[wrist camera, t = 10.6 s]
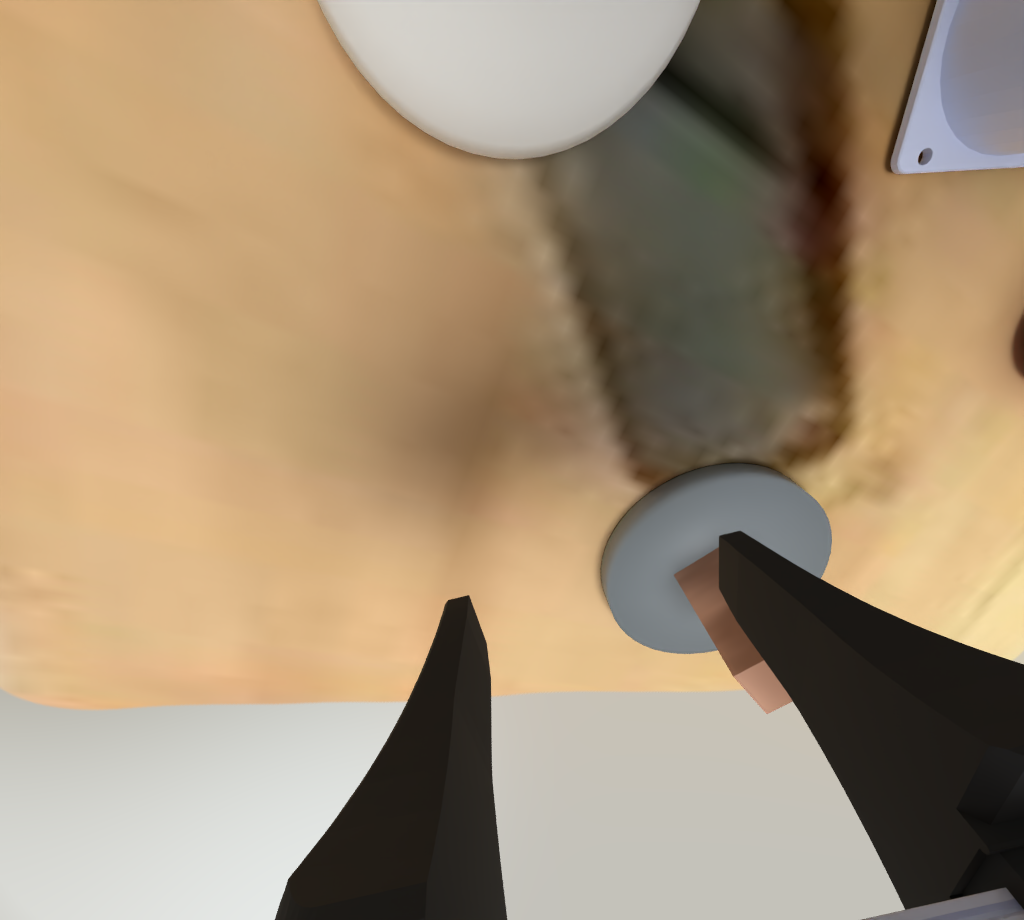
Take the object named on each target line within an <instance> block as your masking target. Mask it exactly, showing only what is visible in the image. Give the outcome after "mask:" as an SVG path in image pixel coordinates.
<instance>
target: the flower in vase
mask: <svg viewBox="0 0 1024 920" xmlns="http://www.w3.org/2000/svg"><path fill="white" fill-rule="evenodd" d="M699 2H700V0H318V3H319V5H320V7H321V10H322V12H323V14H324V16H325V17H326V19H327V21H328V23H329V25H330V26H331V28H332V30H333V32H334V34H335V35H336V37H337V39H338V41H339V43H340V44H341V46H342V47H343V49H344V50H345V52H346V53H347V54H348V56H349V57H350V59H351V60H352V62H353V63H354V65H355V66H356V67H357V69H358V70H359V72H360V73H361V74H362V75H363V76H364V78H365V79H366V80H367V81H368V82H369V83H370V85H371V86H372V87H373V88H374V89H375V90H376V92H377V93H378V94H379V95H380V96H381V97H382V98H383V99H384V100H385V101H386V102H387V103H388V104H390V105H391V106H392V107H393V108H394V109H395V110H396V111H397V112H398V113H399V114H400V115H401V116H403V117H404V118H405V119H407V120H408V121H410V122H411V123H412V124H414V125H415V126H417V127H418V128H419V129H421V130H422V131H424V132H425V133H427V134H429V135H431V136H432V137H434V138H436V139H438V140H440V141H442V142H444V143H446V144H447V145H450V146H453V147H455V148H458V149H461V150H464V151H466V152H469V153H472V154H477V155H482V156H487V157H492V158H500V159H526V158H535V157H543V156H547V155H550V154H554V153H558V152H561V151H565V150H567V149H570V148H572V147H574V146H576V145H579V144H581V143H583V142H586V141H588V140H589V139H591V138H593V137H594V136H596V135H597V134H599V133H600V132H602V131H604V130H605V129H607V128H608V127H610V126H611V125H612V124H613V123H615V122H616V121H617V120H618V119H619V118H621V117H622V116H623V115H624V114H626V113H627V112H628V111H629V110H630V109H631V108H632V107H633V106H634V105H635V104H636V103H637V102H638V101H639V100H640V99H641V98H642V96H643V95H644V94H645V93H646V92H647V91H648V90H649V89H650V88H651V86H652V85H653V84H654V82H655V81H656V80H657V78H658V77H659V76H660V74H661V73H662V72H663V70H664V69H665V68H666V66H667V65H668V63H669V61H670V60H671V58H672V56H673V55H674V53H675V51H676V50H677V48H678V46H679V45H680V43H681V41H682V39H683V38H684V36H685V33H686V31H687V29H688V27H689V25H690V23H691V21H692V18H693V16H694V14H695V12H696V10H697V8H698V5H699Z"/></svg>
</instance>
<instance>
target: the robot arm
mask: <svg viewBox="0 0 1024 920" xmlns="http://www.w3.org/2000/svg"><path fill="white" fill-rule="evenodd" d="M921 152H923V158H922V159H921V161H920V163H918V157H919V155H920V153H921ZM1019 167H1024V0H937V2H936V6H935V9H934V13H933V16H932V20H931V23H930V27H929V30H928V33H927V37H926V40H925V44H924V47H923V51H922V54H921V58H920V61H919V65H918V68H917V72H916V75H915V79H914V82H913V85H912V89H911V92H910V96H909V99H908V103H907V106H906V110H905V113H904V117H903V120H902V124H901V127H900V131H899V134H898V137H897V141H896V144H895V148H894V151H893V155H892V158H891V169H892V171H893V172H894V173H895V174H914V173H932V172H949V171H967V170H984V169H1001V168H1019ZM719 590H720V592H721V593H722V595H723V597H724V599H725V601H726V603H727V605H728V607H729V609H730V610H731V612H732V614H733V616H734V617H735V619H736V621H737V623H738V624H739V625H740V627H741V628H742V630H743V631H744V633H745V634H746V635H747V637H748V638H749V640H750V641H751V643H752V644H753V645H754V647H755V648H756V650H757V651H758V652H759V654H760V655H761V657H762V658H763V659H764V661H765V662H766V664H767V665H768V666H769V668H770V669H771V671H772V672H773V673H774V675H775V676H776V678H777V679H778V681H779V682H780V683H781V685H782V686H783V688H784V689H785V690H786V692H787V693H788V695H789V696H790V698H791V699H792V701H793V702H794V704H795V705H796V707H797V708H798V710H799V711H800V713H801V715H802V716H803V718H804V720H805V722H806V723H807V725H808V727H809V728H810V730H811V732H812V734H813V735H814V737H815V739H816V740H817V742H818V744H819V745H820V747H821V749H822V751H823V752H824V754H825V756H826V758H827V760H828V762H829V763H830V765H831V767H832V768H833V770H834V772H835V774H836V776H837V777H838V779H839V781H840V783H841V785H842V787H843V788H844V790H845V792H846V794H847V796H848V797H849V800H850V801H851V803H852V805H853V807H854V809H855V811H856V813H857V815H858V817H859V819H860V820H861V822H862V824H863V826H864V828H865V830H866V832H867V834H868V835H869V837H870V839H871V841H872V843H873V845H874V847H875V849H876V851H877V853H878V855H879V857H880V859H881V861H882V863H883V865H884V867H885V869H886V871H887V873H888V875H889V877H890V879H891V881H892V883H893V885H894V887H895V889H896V891H897V893H898V895H899V897H900V900H901V902H902V904H903V906H904V908H905V910H903V911H898V912H894V913H890V914H885V915H880V916H876V917H871V918H867V919H862V920H1024V665H1023V664H1020V663H1017V662H1014V661H1011V660H1008V659H1005V658H1002V657H999V656H996V655H993V654H990V653H987V652H984V651H982V650H979V649H976V648H973V647H970V646H967V645H965V644H962V643H959V642H957V641H954V640H952V639H949V638H946V637H944V636H941V635H939V634H936V633H934V632H931V631H928V630H926V629H924V628H921V627H919V626H916V625H914V624H912V623H909V622H907V621H905V620H902V619H900V618H898V617H896V616H894V615H891V614H889V613H887V612H885V611H882V610H880V609H878V608H876V607H874V606H872V605H870V604H868V603H865V602H863V601H861V600H859V599H857V598H856V597H854V596H852V595H850V594H848V593H846V592H844V591H842V590H840V589H838V588H836V587H834V586H833V585H831V584H829V583H827V582H825V581H823V580H822V579H820V578H818V577H816V576H815V575H813V574H811V573H809V572H808V571H806V570H804V569H802V568H801V567H799V566H797V565H796V564H794V563H792V562H791V561H789V560H787V559H786V558H784V557H782V556H781V555H779V554H778V553H776V552H774V551H773V550H771V549H769V548H768V547H766V546H765V545H763V544H761V543H760V542H758V541H757V540H755V539H753V538H752V537H750V536H749V535H747V534H745V533H744V532H742V531H736V532H732V533H728V534H724V535H720V536H719ZM491 748H492V747H491V676H490V667H489V659H488V651H487V643H486V640H485V638H484V635H483V632H482V629H481V627H480V624H479V621H478V618H477V616H476V613H475V610H474V608H473V605H472V602H471V599H470V597H469V595H468V596H464V597H460V598H456V599H451V600H448V601H447V603H446V604H445V607H444V611H443V614H442V617H441V620H440V623H439V626H438V629H437V632H436V635H435V638H434V640H433V643H432V646H431V648H430V651H429V653H428V656H427V658H426V661H425V663H424V666H423V668H422V671H421V673H420V676H419V678H418V680H417V682H416V684H415V686H414V689H413V691H412V693H411V695H410V697H409V699H408V702H407V704H406V706H405V708H404V710H403V712H402V714H401V716H400V717H399V720H398V721H397V723H396V725H395V727H394V729H393V731H392V732H391V734H390V736H389V738H388V739H387V741H386V743H385V745H384V746H383V748H382V750H381V751H380V753H379V755H378V756H377V758H376V760H375V761H374V763H373V765H372V766H371V768H370V769H369V771H368V772H367V774H366V776H365V777H364V779H363V780H362V782H361V783H360V785H359V786H358V788H357V789H356V790H355V792H354V793H353V795H352V796H351V798H350V799H349V800H348V802H347V803H346V805H345V806H344V808H343V809H342V810H341V812H340V813H339V815H338V816H337V818H336V819H335V820H334V822H333V823H332V824H331V826H330V827H329V828H328V830H327V831H326V832H325V834H324V835H323V836H322V838H321V839H320V840H319V841H318V843H317V844H316V845H315V846H314V848H313V849H312V850H311V851H310V853H309V854H308V855H307V856H306V858H305V859H304V860H303V861H302V863H301V864H300V865H299V867H298V868H297V869H296V870H295V871H294V873H293V874H292V875H291V876H290V878H289V879H288V882H287V885H286V888H285V891H284V894H283V897H282V899H281V902H280V905H279V908H278V911H277V915H276V918H275V920H507V915H506V906H505V897H504V889H503V880H502V871H501V862H500V853H499V843H498V834H497V825H496V815H495V803H494V794H493V783H492V752H491V751H492V750H491Z"/></svg>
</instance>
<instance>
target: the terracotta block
mask: <svg viewBox="0 0 1024 920" xmlns="http://www.w3.org/2000/svg"><path fill="white" fill-rule="evenodd" d="M674 576H675V578H676V580H677V581H678V583H679V585H680V587H681V588H682V590H683V592H684V593H685V595H686V597H687V598H688V600H689V602H690V604H691V605H692V607H693V609H694V610H695V612H696V614H697V615H698V617H699V619H700V621H701V622H702V624H703V626H704V627H705V629H706V631H707V632H708V634H709V636H710V638H711V639H712V641H713V643H714V644H715V646H716V648H717V649H718V651H719V653H720V655H721V656H722V658H723V660H724V661H725V663H726V665H727V666H728V668H729V670H730V672H731V673H732V675H733V677H734V678H735V679H736V680H737V681H738V682H739V683H740V684H741V686H742V687H743V688H744V689H745V690H746V691H747V692H748V693H749V694H750V696H751V697H752V698H753V699H754V700H755V701H756V702H757V703H758V705H759V706H760V707H761V708H762V709H763V710H764V711H765V712H766V714H768V713H770V712H772V711H774V710H776V709H778V708H780V707H782V706H784V705H786V704H788V703H790V702H792V699H791V698H790V696H789V695H788V693H787V692H786V690H785V689H784V688H783V686H782V685H781V683H780V682H779V681H778V679H777V678H776V676H775V675H774V673H773V672H772V671H771V669H770V668H769V666H768V665H767V664H766V662H765V661H764V659H763V658H762V657H761V655H760V654H759V652H758V651H757V650H756V648H755V647H754V645H753V644H752V643H751V641H750V640H749V638H748V637H747V635H746V634H745V633H744V631H743V630H742V628H741V627H740V625H739V624H738V623H737V621H736V619H735V617H734V616H733V614H732V612H731V610H730V609H729V607H728V605H727V603H726V601H725V599H724V597H723V595H722V593H721V592H720V590H719V547H718V548H717V549H715V550H713V551H712V552H710V553H708V554H707V555H705V556H703V557H702V558H700V559H699V560H697V561H695V562H694V563H692V564H690V565H689V566H687V567H685V568H684V569H682V570H681V571H679V572H677V573H676V574H674Z"/></svg>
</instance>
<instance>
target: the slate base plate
mask: <svg viewBox="0 0 1024 920" xmlns="http://www.w3.org/2000/svg"><path fill="white" fill-rule="evenodd" d="M736 531H742V532H744V533H745V534H747V535H749V536H750V537H752V538H753V539H755V540H757V541H758V542H760V543H761V544H763V545H765V546H766V547H768V548H769V549H771V550H773V551H774V552H776V553H778V554H779V555H781V556H782V557H784V558H786V559H787V560H789V561H791V562H792V563H794V564H796V565H797V566H799V567H801V568H802V569H804V570H806V571H808V572H809V573H811V574H813V575H815V576H816V577H818V578H821V577H822V575H823V573H824V571H825V568H826V566H827V563H828V560H829V556H830V553H831V545H832V535H831V528H830V524H829V520H828V518H827V516H826V514H825V511H824V510H823V508H822V507H821V506H820V504H819V503H818V502H817V501H816V500H815V499H814V498H813V497H812V496H810V495H809V494H808V493H807V492H806V491H804V490H803V489H802V488H801V487H799V486H798V485H797V484H796V483H794V482H793V481H792V480H791V479H790V478H788V477H786V476H785V475H783V474H781V473H780V472H778V471H775V470H772V469H770V468H767V467H763V466H759V465H754V464H743V463H731V464H720V465H713V466H708V467H704V468H700V469H697V470H693V471H690V472H688V473H685V474H683V475H680V476H678V477H676V478H674V479H672V480H670V481H668V482H666V483H664V484H662V485H661V486H659V487H658V488H656V489H654V490H653V491H651V492H650V493H649V494H647V495H646V496H645V497H644V498H642V499H641V500H640V501H638V502H637V503H636V504H635V505H634V506H633V507H632V508H631V509H630V510H629V511H628V512H627V513H626V515H625V516H624V517H623V518H622V520H621V521H620V522H619V523H618V525H617V526H616V528H615V530H614V531H613V533H612V534H611V536H610V538H609V541H608V543H607V545H606V547H605V551H604V554H603V558H602V564H601V581H602V586H603V590H604V593H605V596H606V598H607V601H608V604H609V606H610V609H611V611H612V614H613V616H614V619H615V620H616V622H617V623H618V625H619V626H620V628H621V629H622V630H623V631H624V632H625V633H626V634H627V635H628V636H630V637H631V638H632V639H634V640H635V641H637V642H638V643H640V644H642V645H644V646H647V647H649V648H652V649H655V650H659V651H663V652H669V653H677V654H693V653H704V652H710V651H716V650H718V649H717V648H716V646H715V644H714V643H713V641H712V639H711V638H710V636H709V634H708V632H707V631H706V629H705V627H704V626H703V624H702V622H701V621H700V619H699V617H698V615H697V614H696V612H695V610H694V609H693V607H692V605H691V604H690V602H689V600H688V598H687V597H686V595H685V593H684V592H683V590H682V588H681V587H680V585H679V583H678V581H677V580H676V578H675V576H674V574H676V573H677V572H679V571H681V570H682V569H684V568H685V567H687V566H689V565H690V564H692V563H694V562H695V561H697V560H699V559H700V558H702V557H703V556H705V555H707V554H708V553H710V552H712V551H713V550H715V549H717V548H718V547H719V536H720V535H724V534H728V533H732V532H736Z"/></svg>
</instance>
